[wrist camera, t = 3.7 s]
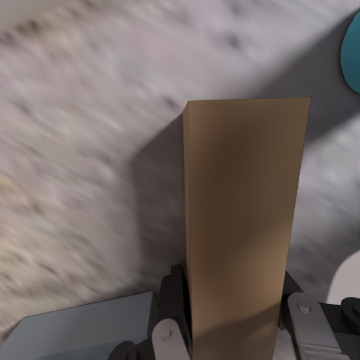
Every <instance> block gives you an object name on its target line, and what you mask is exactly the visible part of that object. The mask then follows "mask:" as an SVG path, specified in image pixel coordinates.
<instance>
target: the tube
mask: <svg viewBox="0 0 360 360" xmlns="http://www.w3.org/2000/svg"><path fill="white" fill-rule="evenodd" d="M341 67H342V71H343V74H344V77H345V80H346V82H347V84H348V85H349V86H350V87H351V88H352V89H353V90H354V91H356V92H357V93H359V94H360V11H359V12H358V13H357V14H356V16H355V18H354V19H353V21H352V22H351V24H350V26H349V28H348V30H347V32H346V35H345V37H344V40H343V43H342V47H341Z"/></svg>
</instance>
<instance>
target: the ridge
mask: <svg viewBox="0 0 360 360" xmlns="http://www.w3.org/2000/svg"><path fill="white" fill-rule="evenodd" d="M158 315H159V309H158V306H157V303H156V300H155V297H154V294H153V291H151V292H146V293H141V294H137V295H132V296H127V297H122V298H117V299H112V300H108V301H103V302H98V303H93V304H88V305H83V306H79V307H74V308H69V309H64V310H59V311H54V312H49V313H45V314H40V315H35V316H30V317H25V318H23V319H22V321H21V322H20V323H19V324H18V326H17V327H16V328H15V329H14V331H13V332H12V333H11V334H10V336H9V337H8V338H7V339H6V341H5V342H4V343H3V344H2V346H1V347H0V360H107V359H108V357H109V355H110V354H111V352H112V350H113V349H114V348H115V347H116V346H117V345H118V344H120V343H122V342H124V341H131V342H133V343H134V344H135V345H137V344H138V343H140V342H142V341H143V340H145V339H147V338H148V337H149V336H150V335H151V334H152V333H153V330H154V328H155V326H156V325H157V324H158Z"/></svg>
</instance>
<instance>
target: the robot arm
mask: <svg viewBox="0 0 360 360" xmlns="http://www.w3.org/2000/svg"><path fill="white" fill-rule="evenodd" d="M277 325H278V327H279V328H280V330H285V329H287V331H288V333H289V334H290V336H291V344H292V348H293V352H294V356H295V360H360V299H359V298H354V297H348V298H345V299H343V300H342V301H341V305H334V304H325V303H321V302H318V301H317V300H316V299H314V298H313V297H311V296H310V295H308V294H305V293H304V292H303V291H302V290H301V288H300V287H299V286H298V285H297V283H296V282H295V281H294V280H293V278H292V277H291V276H290V275H289V273H288V272H287V271H286V270H285V277H284V284H283V290H282V297H281V304H280V311H279V317H278V324H277ZM191 347H192V335H191V323H190V311H189V299H188V287H187V281H186V277H185V273H184V270H183V266H182V264H178V265H173V266H171V275H166V276H164V278H163V280H162V282H161V291H160V303H159V315H158V324H157V325H156V326H155V328H154V330H153V333H152V334H151V335H150V336H149V337H148V338H147V339H145V340H143V341H142V342H140V343H138V344H137V345H135V344H134V343H133V342H131V341H124V342H122V343H120V344H118V345H117V346H116V347H115V348H114V349H113V350H112V352H111V354H110V355H109V357H108V359H107V360H190V358H189V348H191Z"/></svg>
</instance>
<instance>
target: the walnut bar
mask: <svg viewBox="0 0 360 360" xmlns="http://www.w3.org/2000/svg"><path fill="white" fill-rule="evenodd" d="M310 101H311V97H300V98H265V99H231V100H197V101H188V102H187V104H186V106H185V108H184V110H183V112H182V120H183V157H184V195H185V233H186V271H187V287H188V299H189V311H190V323H191V335H192V347H191V348H189V358H190V360H272V358H273V351H274V345H275V338H276V331H277V324H278V317H279V311H280V304H281V297H282V290H283V284H284V277H285V270H286V263H287V256H288V250H289V243H290V236H291V229H292V223H293V216H294V209H295V202H296V195H297V189H298V182H299V175H300V168H301V162H302V155H303V148H304V141H305V135H306V128H307V121H308V114H309V107H310Z"/></svg>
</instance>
